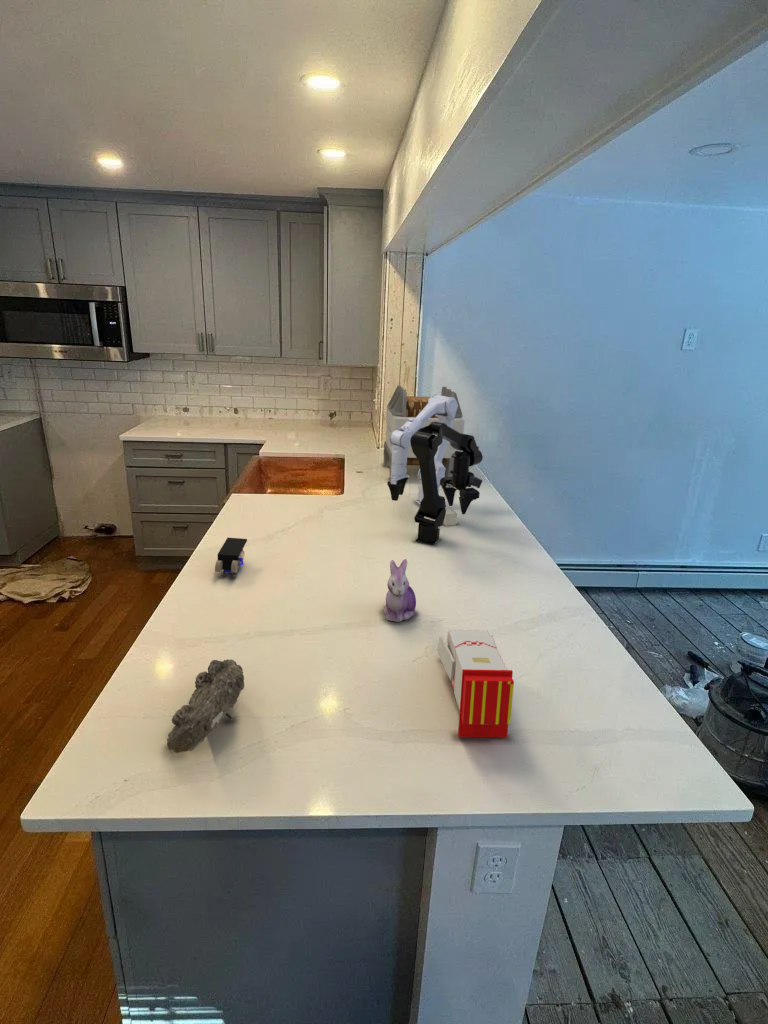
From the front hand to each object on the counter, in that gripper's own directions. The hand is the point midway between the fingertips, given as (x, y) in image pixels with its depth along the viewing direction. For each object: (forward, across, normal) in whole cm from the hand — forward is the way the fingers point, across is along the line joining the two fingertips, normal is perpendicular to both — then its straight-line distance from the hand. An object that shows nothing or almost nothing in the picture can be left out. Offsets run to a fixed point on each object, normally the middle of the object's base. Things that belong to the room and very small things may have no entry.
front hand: (457, 510), depth 207 cm
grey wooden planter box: (+6, +68, -19) cm, 71 cm away
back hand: (-1, +17, +16) cm, 24 cm away
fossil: (+7, -75, +96) cm, 122 cm away
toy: (+7, -85, +46) cm, 97 cm away
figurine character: (+7, -12, +82) cm, 84 cm away
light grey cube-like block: (+6, +4, +1) cm, 8 cm away
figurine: (+7, -51, +46) cm, 69 cm away
